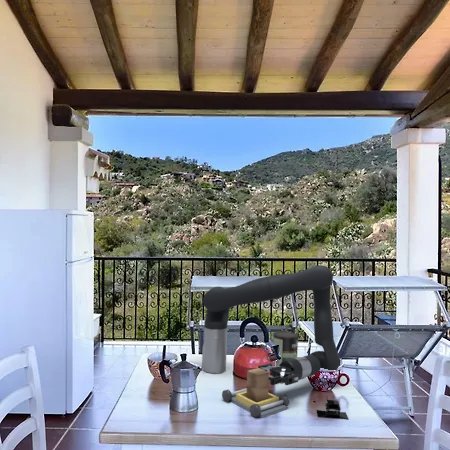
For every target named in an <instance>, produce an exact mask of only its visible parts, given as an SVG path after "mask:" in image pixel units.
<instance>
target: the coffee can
mask: <svg viewBox="0 0 450 450" xmlns="http://www.w3.org/2000/svg"><path fill="white" fill-rule="evenodd" d="M272 334H273V340H272V341H273V344H275V345H279V351H280V354H281V359H280V360H277V361H276V366H279V365H280V364H281V362H282V361H284V360H288V359H292V358H296V357H298V350H299V349H298V345H299V334H298V333H295V332H293V331H292V332H291V331H281V330H280V331H274V332H273V333H272ZM273 344H272V345H273Z"/></svg>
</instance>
